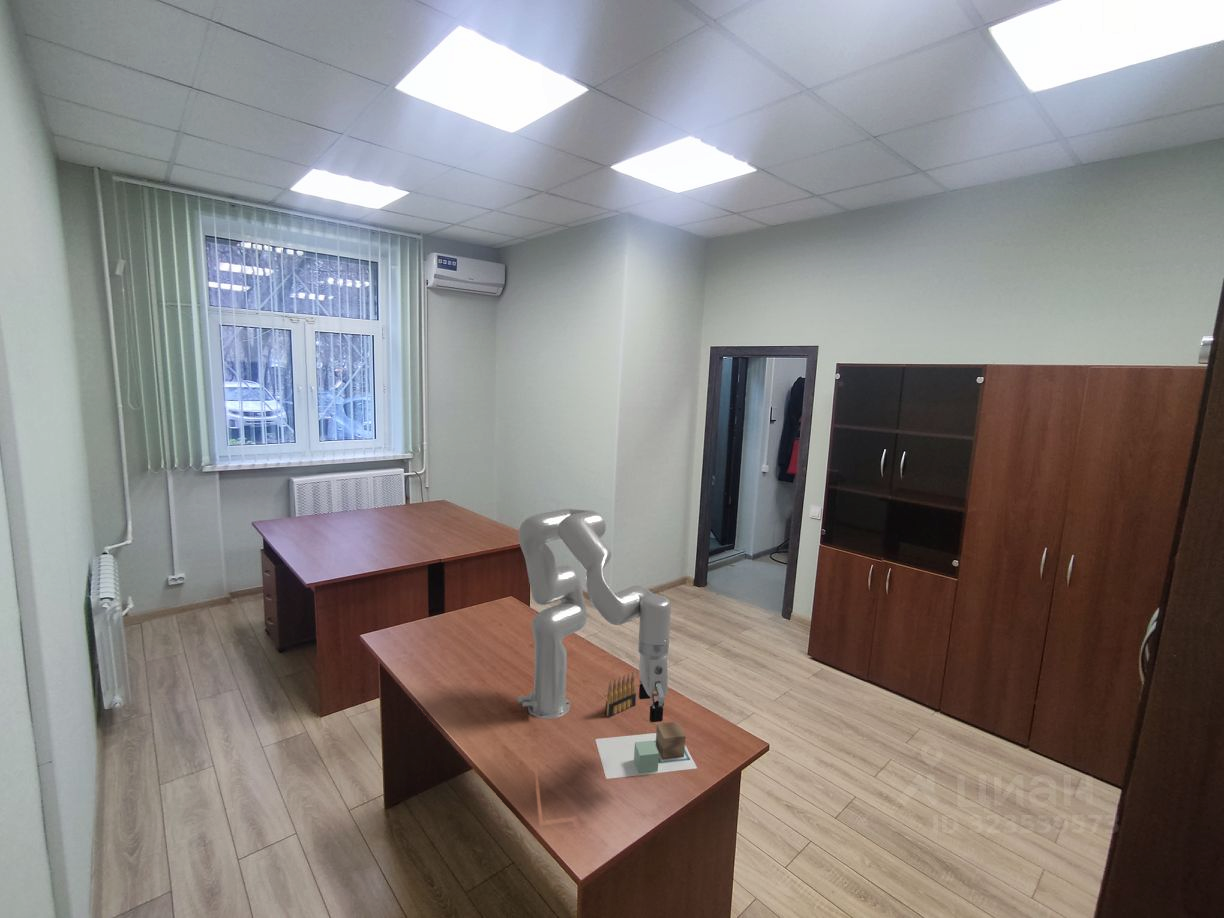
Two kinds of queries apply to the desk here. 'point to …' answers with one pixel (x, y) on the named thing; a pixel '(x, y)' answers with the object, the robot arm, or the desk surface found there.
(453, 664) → the desk surface
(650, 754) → the sage cube
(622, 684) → the ammunition clip
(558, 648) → the robot arm
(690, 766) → the building board
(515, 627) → the desk surface
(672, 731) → the walnut block
